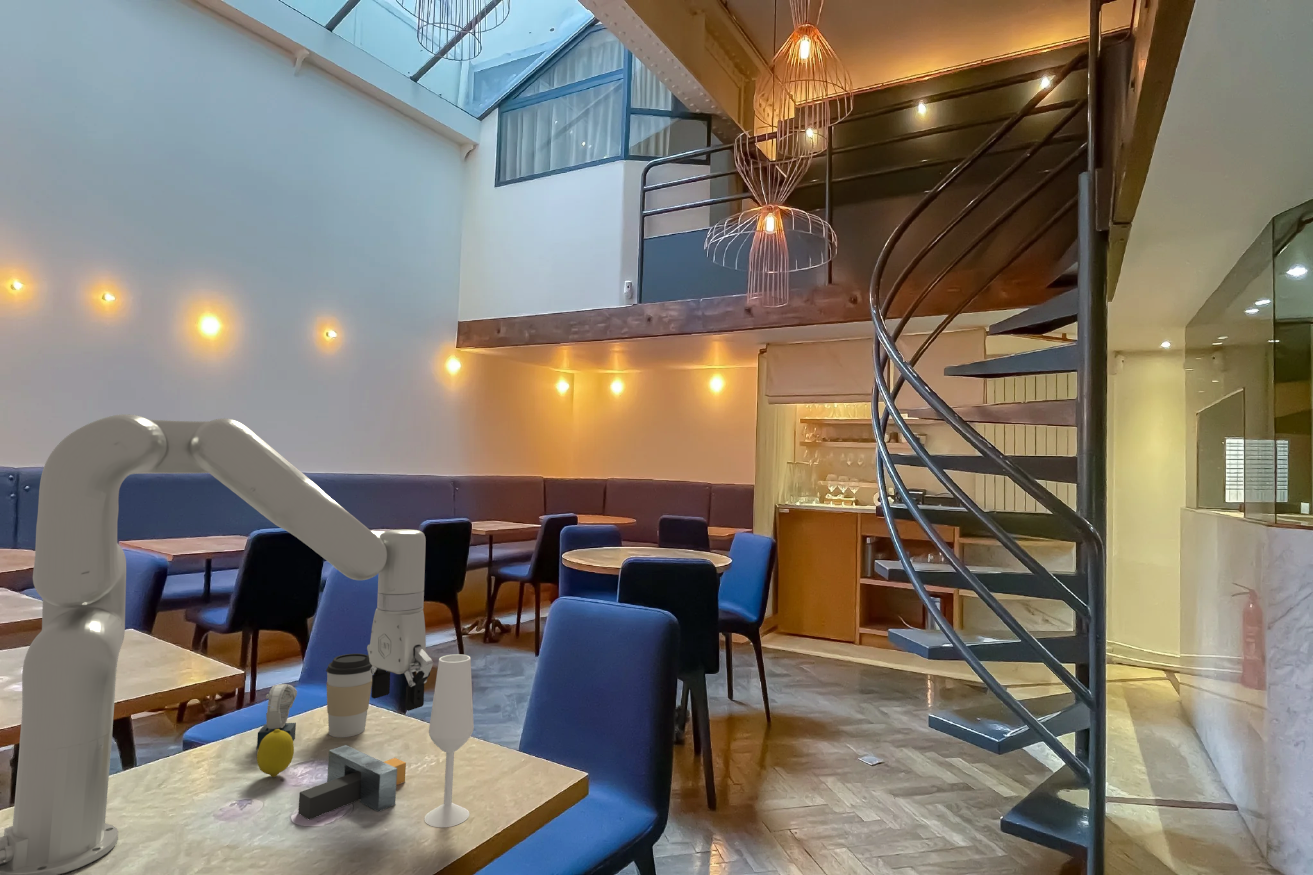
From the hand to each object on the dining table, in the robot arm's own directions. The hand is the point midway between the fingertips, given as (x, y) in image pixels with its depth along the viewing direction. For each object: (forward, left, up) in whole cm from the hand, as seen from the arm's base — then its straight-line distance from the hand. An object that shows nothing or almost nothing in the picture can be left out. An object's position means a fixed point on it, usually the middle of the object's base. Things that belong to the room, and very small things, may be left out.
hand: (397, 702), depth 115 cm
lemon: (-11, +17, -14) cm, 25 cm away
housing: (-6, 0, -13) cm, 15 cm away
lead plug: (-7, 0, -13) cm, 15 cm away
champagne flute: (-2, -17, -14) cm, 21 cm away
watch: (-4, +31, -14) cm, 34 cm away
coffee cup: (+8, +27, -14) cm, 31 cm away
